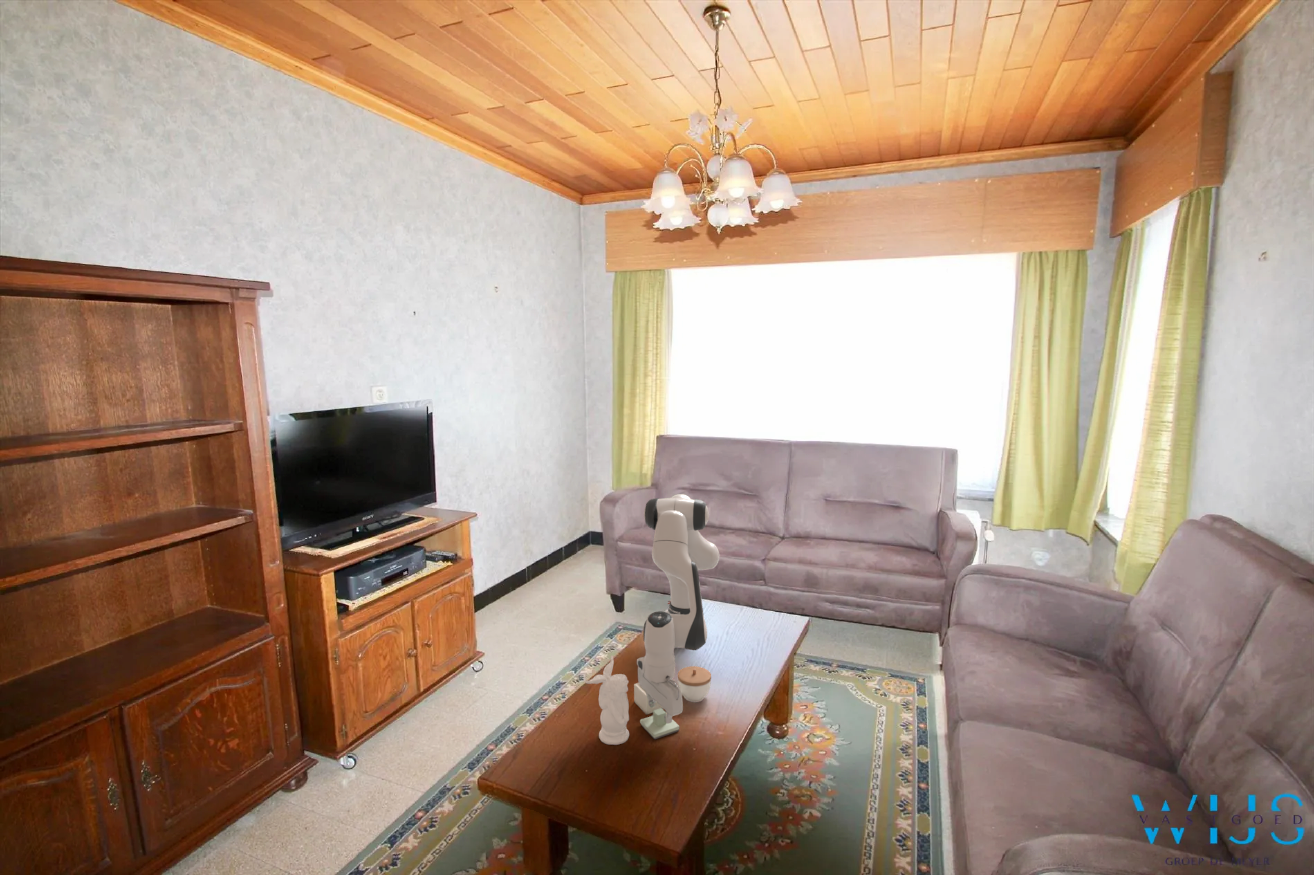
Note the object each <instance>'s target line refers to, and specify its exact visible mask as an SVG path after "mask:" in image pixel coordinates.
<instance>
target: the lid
mask: <svg viewBox="0 0 1314 875" xmlns="http://www.w3.org/2000/svg"><path fill="white" fill-rule="evenodd" d="M665 715H667V713H666V710H665V709H662V708H660V709H657V710H654V711H653V713H652V715H651V716H649V717H648V716H647V717H645V718H641V719H640V720H639V723H640V725H641V724H642V725H643V727H644V728H645V729H646V730H647V731H648V732H649V733H650V734H651V735H652V736H653V737H654V738H656V737H659V736H661V735H664V734H667V733H670V732H673V731H676V730H678V731H679V730H680V725H679V724H678V723H677V722H676V721H675V720H674V719H673V718H672V722H671V723H669V724H667V723H666V722H665V721H664V716H665ZM642 725H641V726H642ZM643 727H642V728H643ZM644 728H643V729H644ZM645 729H644V730H645ZM646 730H645V731H646ZM647 731H646V732H647ZM648 732H647V733H648ZM649 733H648V734H649ZM650 734H649V735H650ZM651 735H650V736H651ZM652 736H651V737H652ZM653 737H652V738H653ZM654 738H653V739H654Z"/></svg>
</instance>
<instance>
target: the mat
mask: <svg viewBox="0 0 1314 875" xmlns="http://www.w3.org/2000/svg"><path fill="white" fill-rule="evenodd" d="M640 725H641V727H642V728H643V729H644V730H645V731H646V732H647V733H648V734H649V735H650V736H651V738H653V739H654V740H657V739H660V738H663V737H665V736H668V735H671V734H674V733H677V732H679V730H676V731H673V732H670V733H667V734H664V735H661V736H659V737H656V738H654V737H653V736H652V735H651V734H650V733H649V732H648V731H647V730H646V729H645V728H644V727H643V725H642V724H641V723H640Z"/></svg>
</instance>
